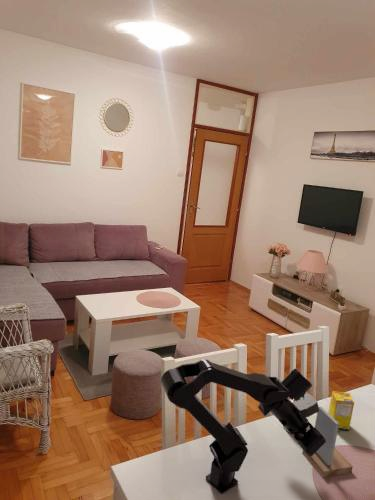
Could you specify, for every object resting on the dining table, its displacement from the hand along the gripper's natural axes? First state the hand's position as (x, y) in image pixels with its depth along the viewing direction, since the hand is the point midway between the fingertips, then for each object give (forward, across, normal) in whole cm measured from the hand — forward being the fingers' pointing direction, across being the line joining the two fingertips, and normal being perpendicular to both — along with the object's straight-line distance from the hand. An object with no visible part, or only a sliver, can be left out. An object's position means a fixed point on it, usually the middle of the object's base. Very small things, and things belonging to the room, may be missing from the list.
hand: (311, 440), depth 113 cm
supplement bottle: (+10, +16, +3) cm, 19 cm away
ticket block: (+11, 0, +1) cm, 11 cm away
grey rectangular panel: (+8, 0, +1) cm, 8 cm away
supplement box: (+23, +15, -10) cm, 29 cm away
